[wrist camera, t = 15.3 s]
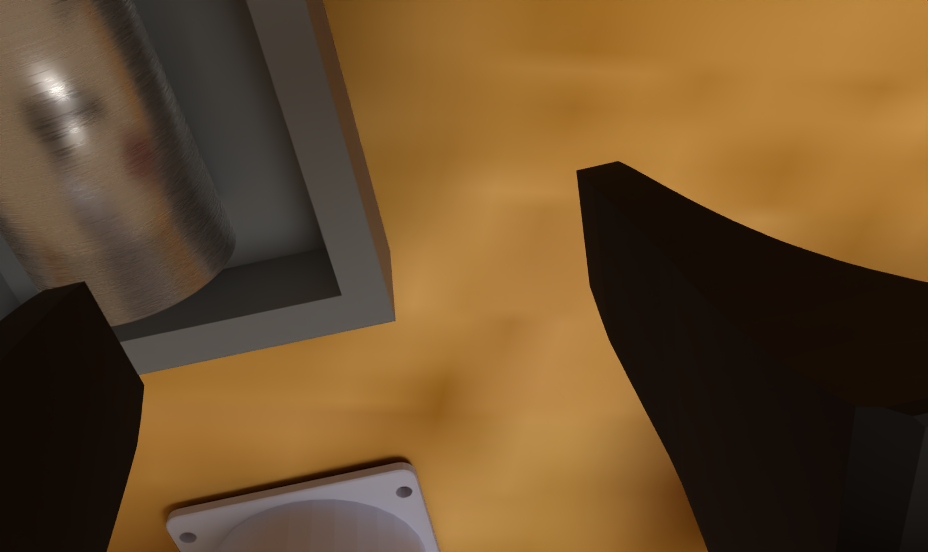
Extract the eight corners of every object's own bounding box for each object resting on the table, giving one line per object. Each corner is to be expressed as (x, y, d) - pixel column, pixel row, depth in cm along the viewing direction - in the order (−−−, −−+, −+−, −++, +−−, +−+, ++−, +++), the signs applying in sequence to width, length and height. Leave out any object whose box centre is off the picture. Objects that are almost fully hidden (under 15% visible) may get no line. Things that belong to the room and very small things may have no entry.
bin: (389, 251, 21) (395, 321, 18) (16, 330, 21) (-30, 410, 18) (218, -385, 13) (187, -416, 11) (-366, -263, 13) (-531, -266, 11)
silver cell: (273, 224, 17) (143, 342, 15) (146, 210, 19) (10, 313, 16) (88, -234, 12) (-159, -186, 10) (-58, -192, 14) (-299, -141, 11)
